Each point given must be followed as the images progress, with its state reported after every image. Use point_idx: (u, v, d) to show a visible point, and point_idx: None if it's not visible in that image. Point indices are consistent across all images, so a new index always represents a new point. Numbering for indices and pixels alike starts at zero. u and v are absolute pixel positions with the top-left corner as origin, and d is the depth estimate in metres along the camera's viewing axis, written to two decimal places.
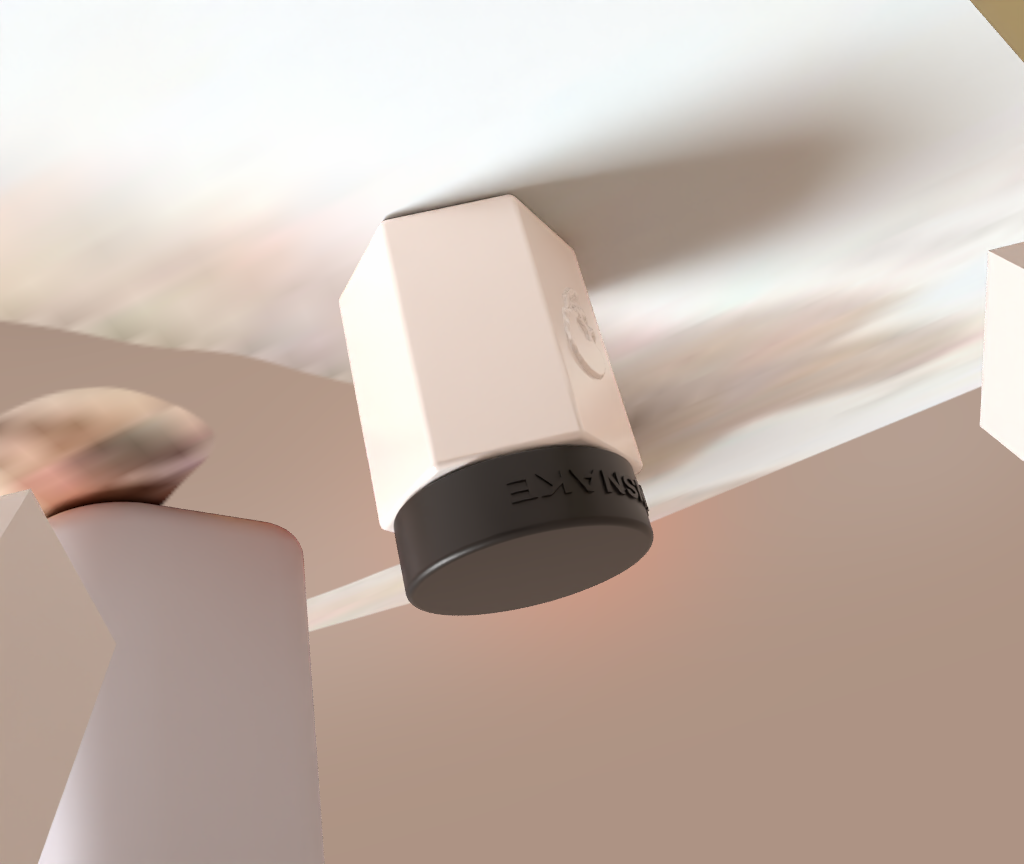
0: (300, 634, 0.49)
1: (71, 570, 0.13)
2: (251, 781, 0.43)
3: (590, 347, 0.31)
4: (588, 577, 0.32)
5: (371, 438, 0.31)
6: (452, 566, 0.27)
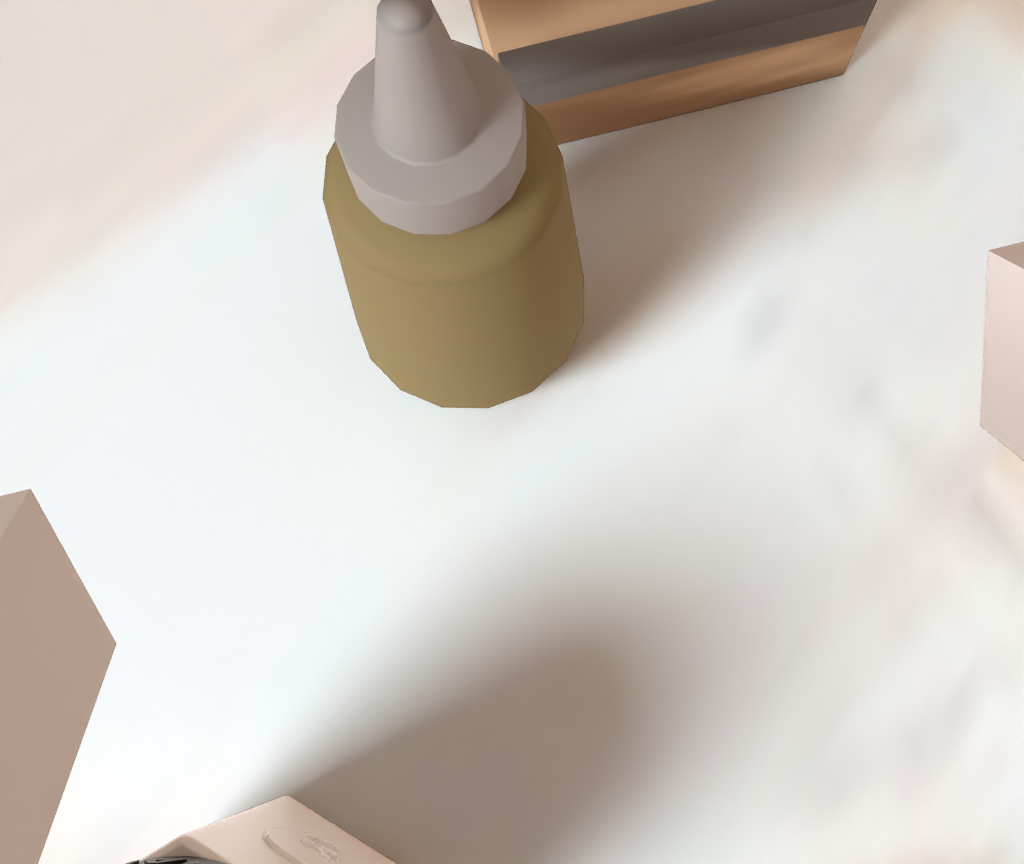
0: None
1: (71, 569, 0.13)
2: None
3: (309, 853, 0.26)
4: None
5: None
6: None
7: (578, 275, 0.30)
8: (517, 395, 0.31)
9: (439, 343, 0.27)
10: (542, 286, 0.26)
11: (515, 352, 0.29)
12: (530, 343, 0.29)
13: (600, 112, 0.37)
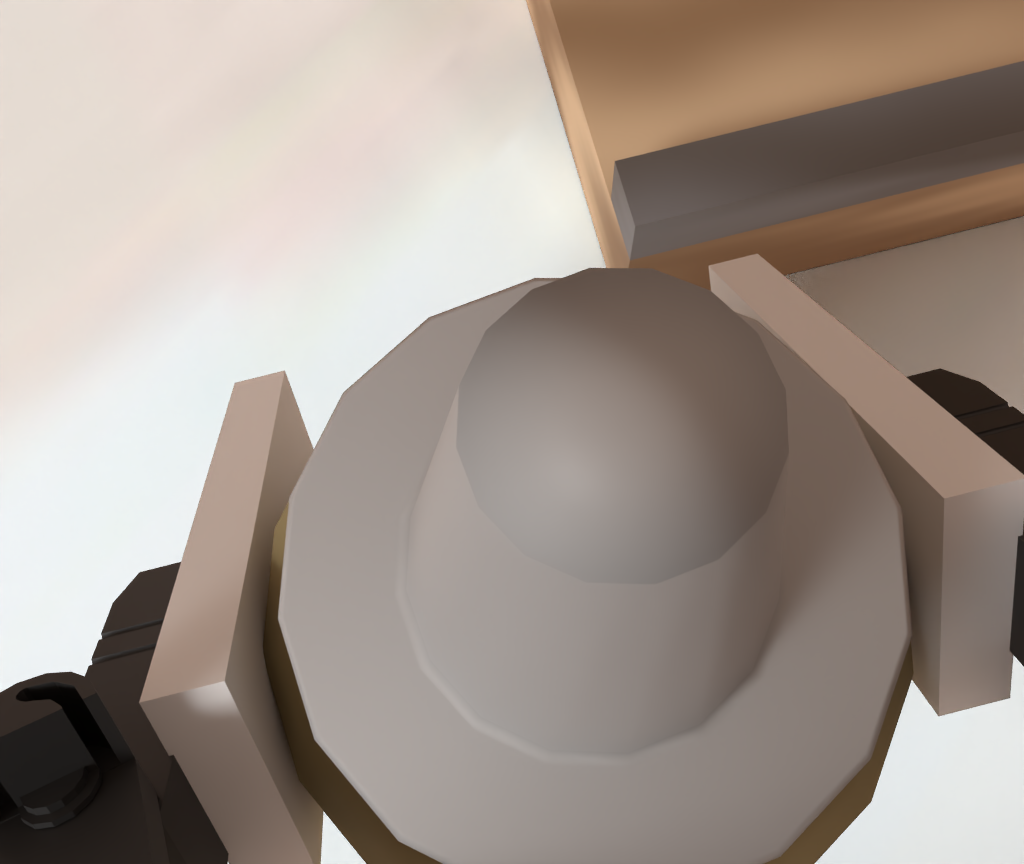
0: None
1: (309, 447, 0.14)
2: None
3: None
4: None
5: None
6: None
7: None
8: None
9: None
10: None
11: None
12: None
13: (778, 251, 0.21)
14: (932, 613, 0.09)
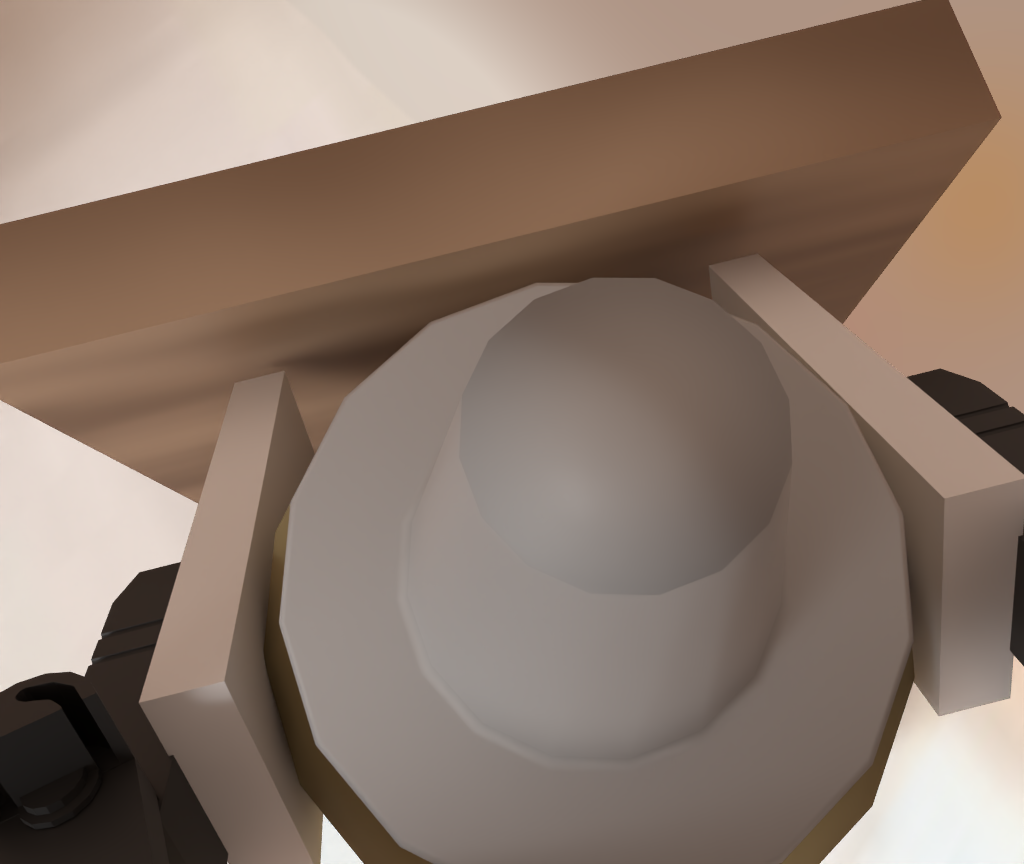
0: None
1: (308, 447, 0.14)
2: None
3: None
4: None
5: None
6: None
7: None
8: None
9: None
10: None
11: None
12: None
13: None
14: (932, 613, 0.09)
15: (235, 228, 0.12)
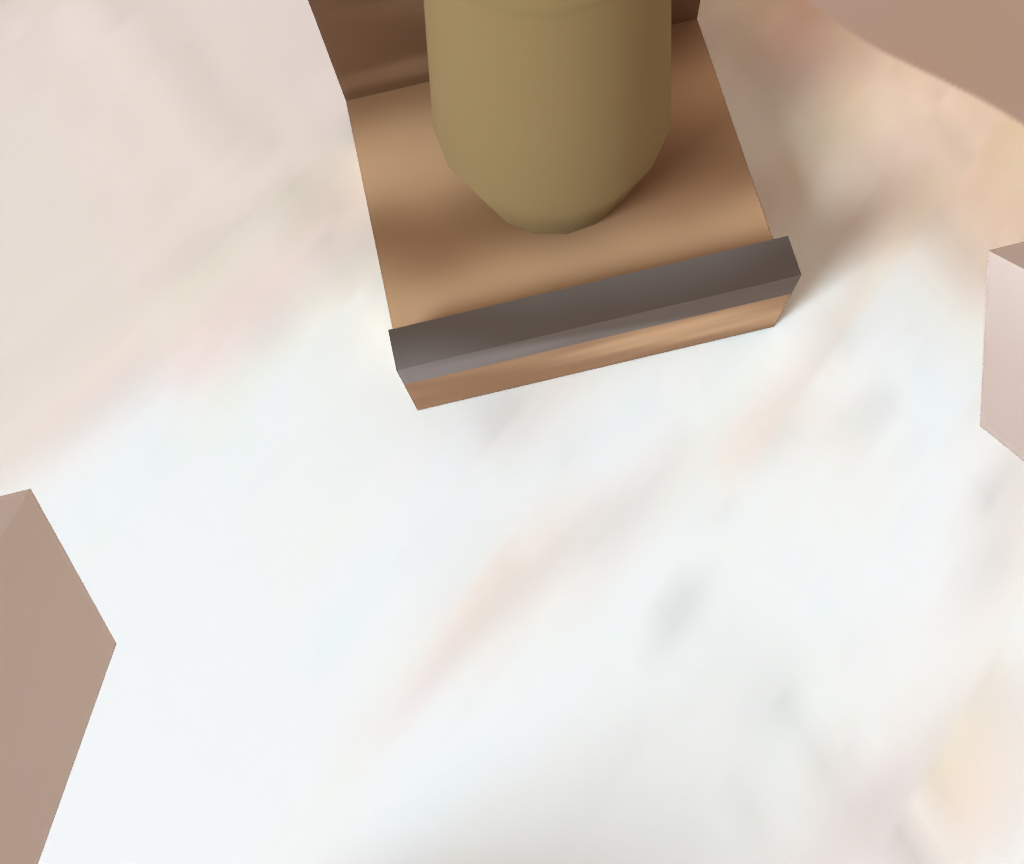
0: None
1: (70, 569, 0.13)
2: None
3: None
4: None
5: None
6: None
7: None
8: (602, 199, 0.30)
9: (533, 110, 0.26)
10: (644, 44, 0.25)
11: (608, 132, 0.27)
12: (624, 123, 0.27)
13: (506, 375, 0.34)
14: None
15: None
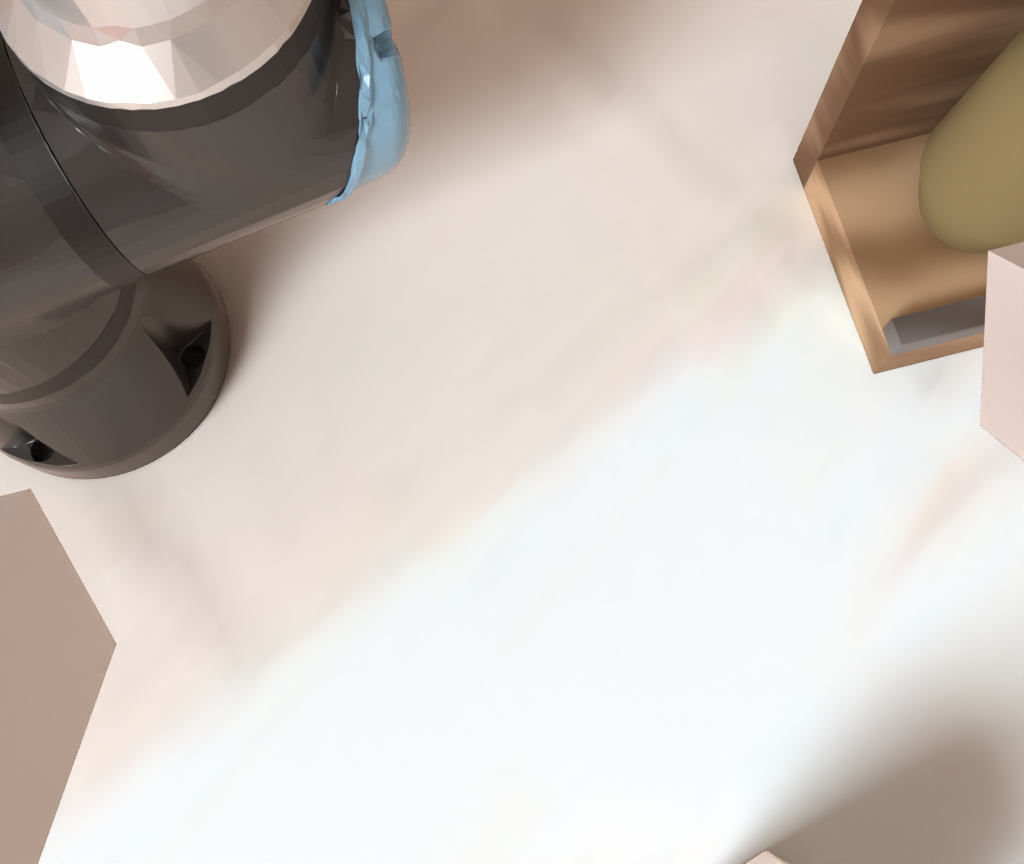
0: None
1: (72, 569, 0.13)
2: None
3: None
4: None
5: None
6: None
7: None
8: None
9: None
10: None
11: None
12: None
13: (946, 348, 0.51)
14: None
15: None
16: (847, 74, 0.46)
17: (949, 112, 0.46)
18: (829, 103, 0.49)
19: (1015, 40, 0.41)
